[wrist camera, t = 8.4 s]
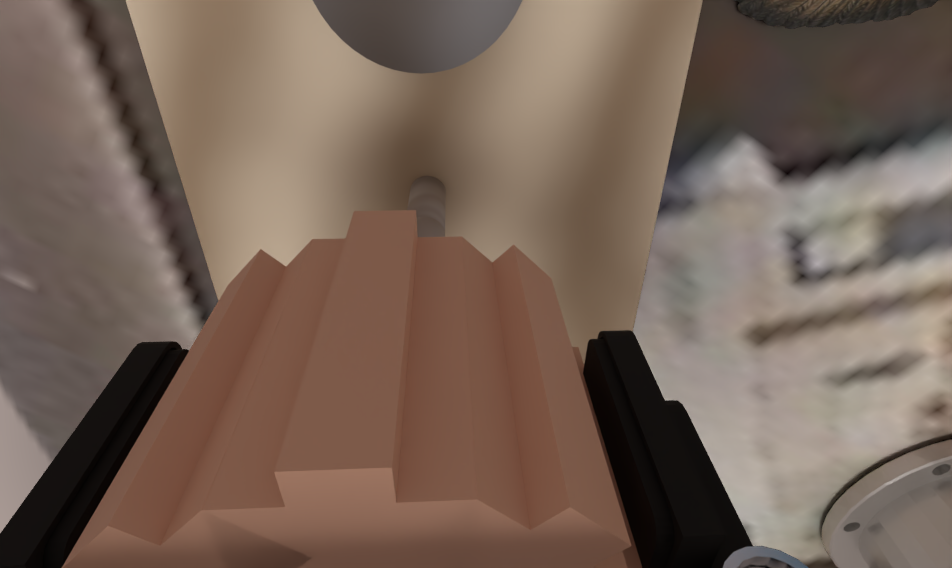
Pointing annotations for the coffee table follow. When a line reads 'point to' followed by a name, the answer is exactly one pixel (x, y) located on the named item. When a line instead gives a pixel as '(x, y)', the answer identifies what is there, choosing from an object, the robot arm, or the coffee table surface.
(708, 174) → the coffee table surface
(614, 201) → the board
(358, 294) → the gear wheel
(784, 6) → the eagle figurine
